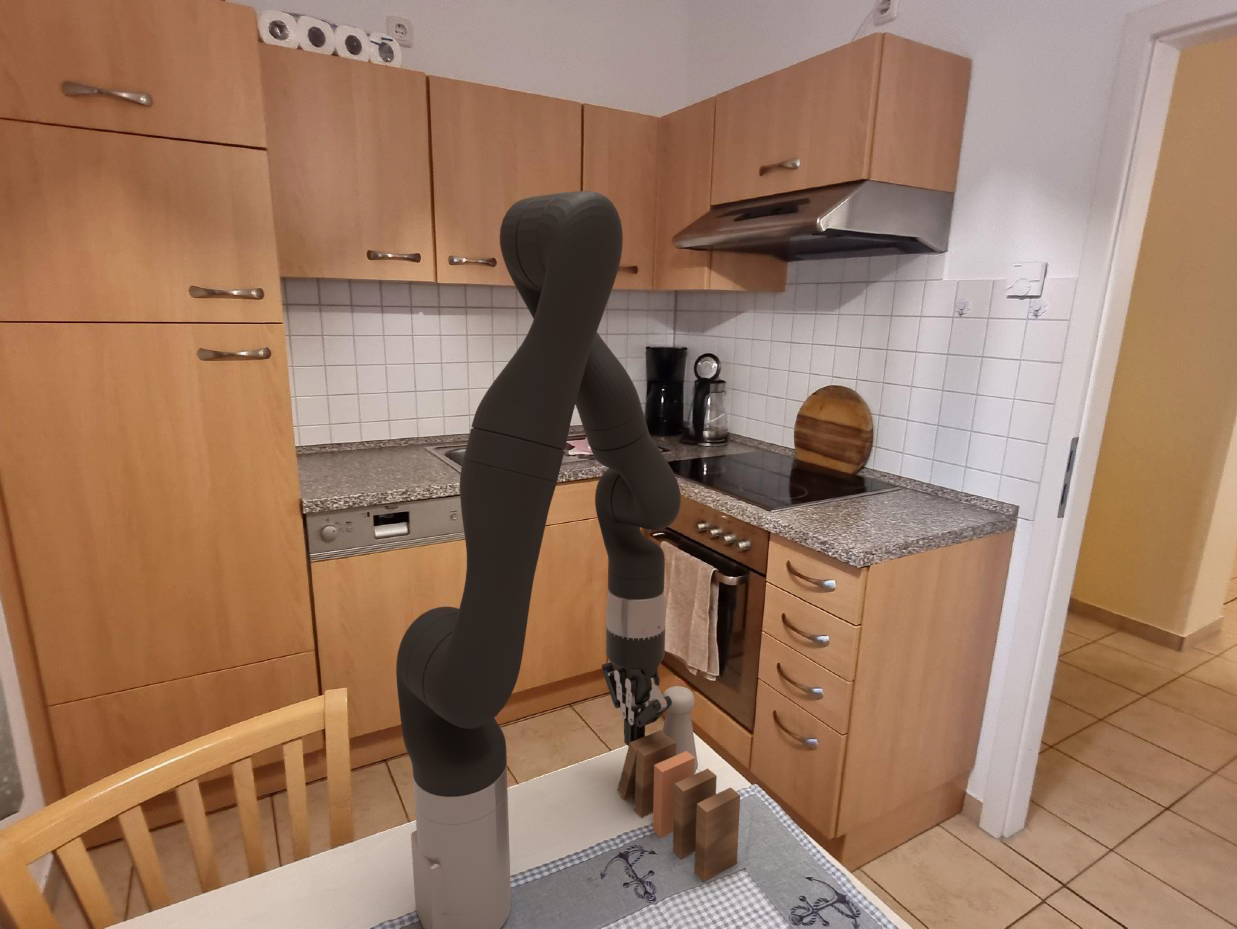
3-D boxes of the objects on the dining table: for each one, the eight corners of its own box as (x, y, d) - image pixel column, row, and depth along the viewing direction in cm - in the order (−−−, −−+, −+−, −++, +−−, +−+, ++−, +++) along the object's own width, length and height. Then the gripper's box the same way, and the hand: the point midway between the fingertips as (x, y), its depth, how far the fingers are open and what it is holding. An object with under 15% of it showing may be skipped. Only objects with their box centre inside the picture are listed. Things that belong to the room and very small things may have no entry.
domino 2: (641, 818, 87) (644, 756, 85) (634, 810, 88) (636, 748, 86) (673, 803, 89) (676, 742, 87) (665, 795, 91) (668, 735, 89)
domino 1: (623, 799, 90) (636, 752, 86) (617, 790, 91) (629, 742, 87) (654, 785, 93) (668, 739, 89) (648, 776, 94) (661, 729, 90)
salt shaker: (647, 770, 96) (649, 685, 93) (683, 759, 98) (686, 676, 95) (668, 796, 91) (670, 707, 88) (705, 784, 93) (708, 697, 90)
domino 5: (703, 882, 77) (706, 812, 75) (694, 872, 78) (696, 803, 76) (736, 863, 80) (740, 795, 78) (727, 854, 81) (730, 787, 79)
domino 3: (660, 837, 84) (662, 772, 82) (652, 829, 85) (654, 764, 83) (692, 821, 86) (694, 757, 84) (684, 813, 88) (686, 750, 86)
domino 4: (681, 859, 80) (683, 791, 78) (672, 850, 82) (674, 783, 80) (713, 841, 83) (716, 775, 81) (705, 833, 84) (707, 768, 82)
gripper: (692, 635, 84) (688, 761, 88) (630, 598, 95) (628, 712, 98) (642, 650, 80) (640, 782, 84) (583, 611, 91) (583, 729, 94)
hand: (634, 744), depth 91 cm, fingers closed
